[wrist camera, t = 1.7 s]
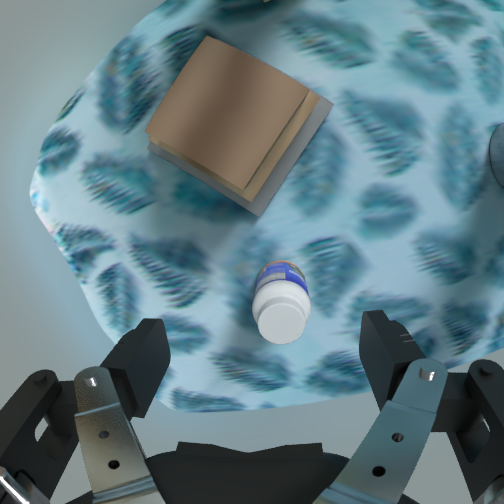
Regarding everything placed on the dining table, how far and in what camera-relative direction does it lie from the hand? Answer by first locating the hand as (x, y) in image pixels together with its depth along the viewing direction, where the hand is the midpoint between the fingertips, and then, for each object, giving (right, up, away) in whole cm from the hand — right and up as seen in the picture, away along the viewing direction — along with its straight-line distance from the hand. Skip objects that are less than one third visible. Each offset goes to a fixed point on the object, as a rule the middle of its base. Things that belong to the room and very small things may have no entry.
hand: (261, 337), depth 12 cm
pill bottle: (+3, 0, +23) cm, 23 cm away
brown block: (-2, +16, +17) cm, 23 cm away
